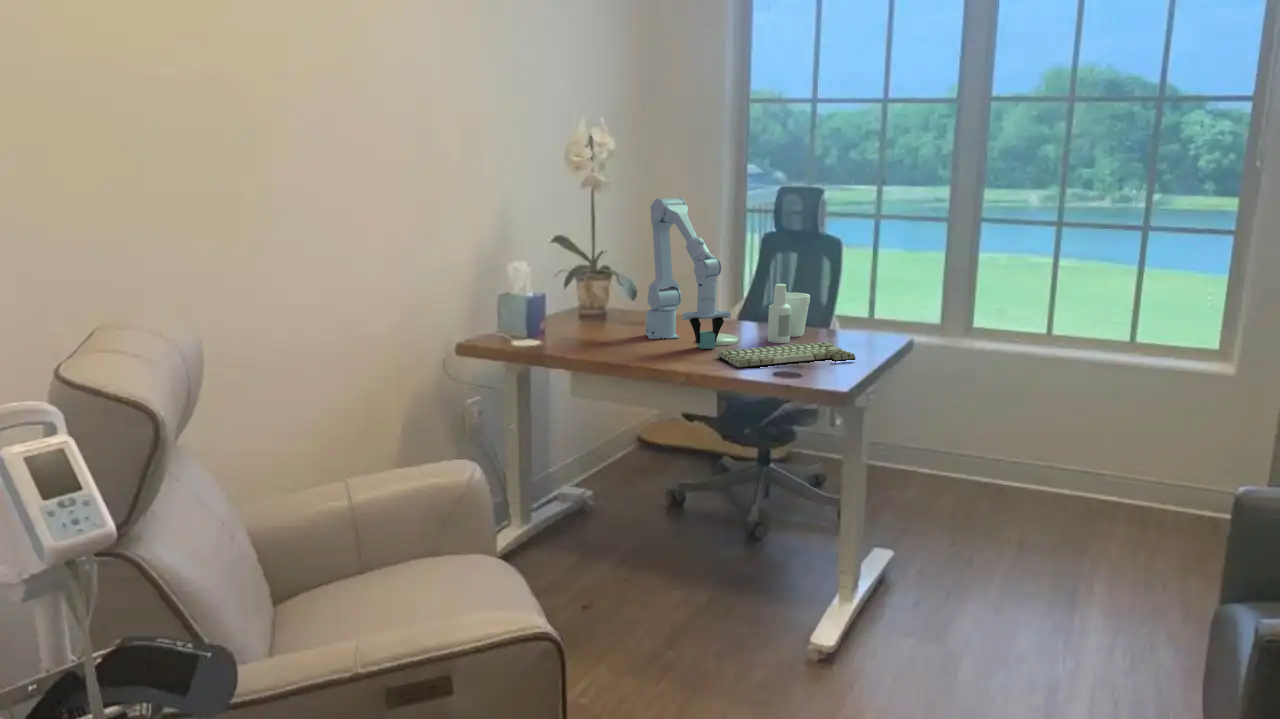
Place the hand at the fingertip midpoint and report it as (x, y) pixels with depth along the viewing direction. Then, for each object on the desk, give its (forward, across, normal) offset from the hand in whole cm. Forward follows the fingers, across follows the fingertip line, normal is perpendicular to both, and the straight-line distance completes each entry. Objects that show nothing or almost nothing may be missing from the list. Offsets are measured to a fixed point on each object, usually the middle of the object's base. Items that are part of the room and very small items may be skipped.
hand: (706, 342), depth 308 cm
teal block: (+1, 0, 0) cm, 1 cm away
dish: (+2, +6, +9) cm, 11 cm away
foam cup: (+2, +33, +15) cm, 36 cm away
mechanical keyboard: (+3, +19, -19) cm, 27 cm away
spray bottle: (+2, +25, +6) cm, 26 cm away
